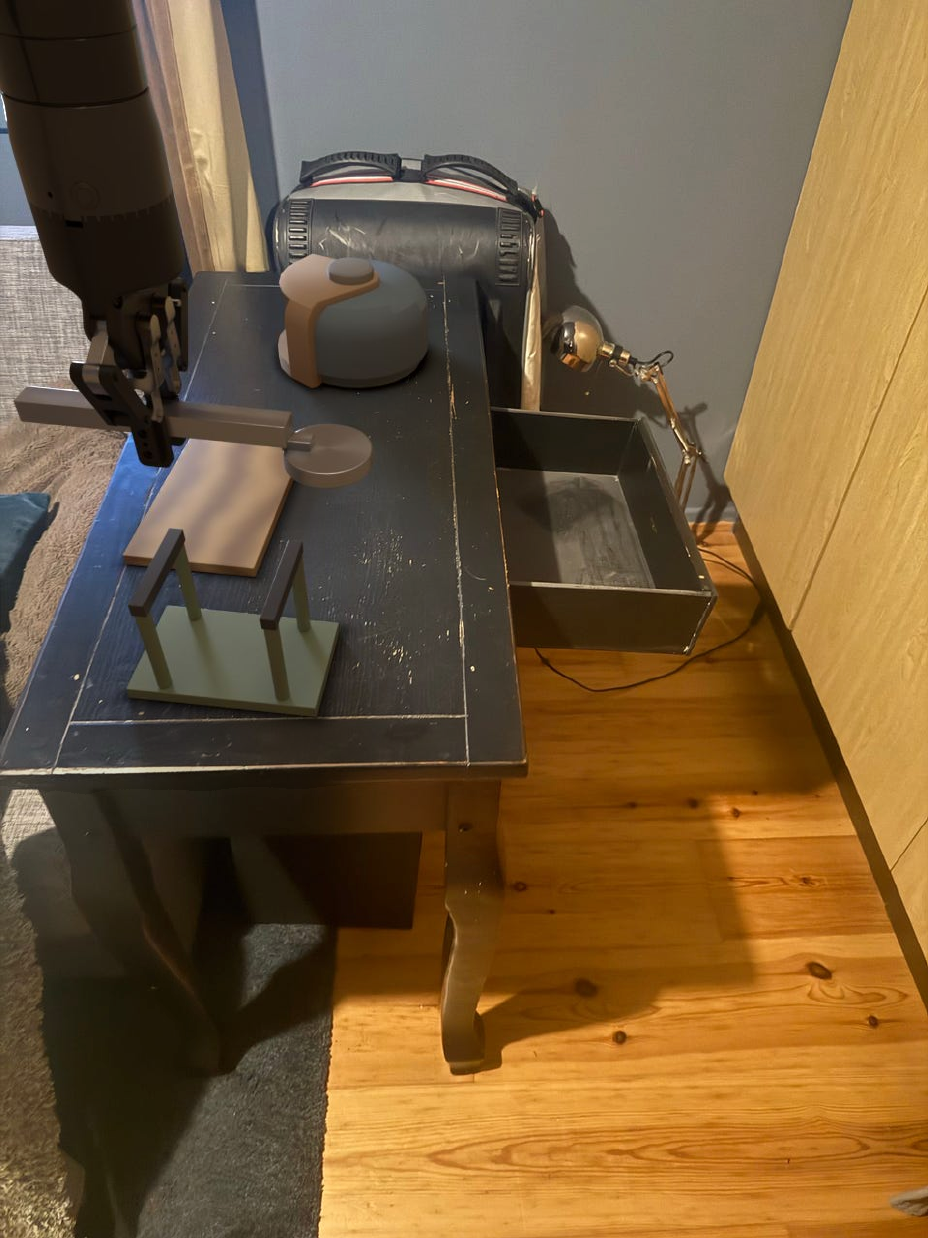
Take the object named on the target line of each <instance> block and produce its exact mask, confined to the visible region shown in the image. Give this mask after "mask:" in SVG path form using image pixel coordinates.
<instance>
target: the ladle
mask: <svg viewBox="0 0 928 1238" xmlns="http://www.w3.org/2000/svg"><path fill="white" fill-rule="evenodd" d="M139 397H140V398H141V400H142V401H144V402H146V399H145V397H143V396H139ZM161 401H162V407H163V416H165V420H166V424H167V428H168V433H169V436H171V437H181V438H187V439H200V440H210V441H220V442H230V443H240V444H250V445H260V446H270V447H280V448H282V453H283V460H284V467H285V470H286V472H287V473H288V475H289V476H290V477H291V478H293V479H294V481H295V482H296V483H299V484H300V485H303V486H306V487H310V488H314V489H323V490H324V489H329V490H330V489H338V488H345V487H348V486H351V485H354V484H356V483H358V482H360V481H361V480H362V479H364V478H365V477H366V476H367V475H368V474H369V473H370V471H371V470H372V468H373V444H372V442H371V440H370V438H368V436H367V435H366V434H365V433H363V432H362V431H360V430H358V429H357V428H354V427H351V426H348V425H343V424H337V423H319V424H313V425H308V426H306V427H303V428H300V429H298V430H296V431H294V423H293V414H292V412H291V411H287V410H286V411H285V410H275V409H266V408H254V407H244V406H237V405H236V406H235V405H227V404H226V405H224V404H215V403H206V402H194V401H185V400H179V401H176V400H166V399H161ZM13 404H14V406H15V409H16V412H17V415H18V418H19V420H20V422H22V423H32V424H41V425H42V424H43V425H51V426H61V427H72V428H82V429H90V430H91V429H93V430H102V431H111V432H123V433H131V434H132V432H131V428H130V427H126V426H109V425H107V424H106V422H105V421H104V420H103V419H102V418H101V416H100V415H99V414H98V413H97V412H96V410H95V409H94V408H93V407H92V405H91V404H90V403H89V402H88V401H87V399H86V398H85V397H84V396H83V394H82V393H81V392H80V391H79V390H73V389H64V388H55V387H54V388H53V387H44V386H35V385H26V386H25V387H24V388H23V389H22V391H20V393H19V394H18V395H17V396H16V397H15V398H14V400H13Z"/></svg>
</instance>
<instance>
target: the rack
mask: <svg viewBox="0 0 928 1238" xmlns="http://www.w3.org/2000/svg"><path fill="white" fill-rule="evenodd" d="M184 542H185V536H184V532H183V529H173V528H169V529H168V531H167V533H166V535H165V537H164V539H163V540H162V542H161V544H160V546H159V548H158V550H157V552H156V554H155V555H154V557H153V559H152V561H151V563H150V565H149V566H147V568H146V571H145V572H144V574H143V576H142V578H141V580H140V582H139V583H138V585H137V587H136V589H135V591H134V593H133V594H132V596H131V598H130V600H129V602H128V604H127V608H128V611H129V614H130V616H131V617H133V618H134V619H135V622H136V625H137V627H138V631H139V634H140V636H141V640H142V643H143V646H144V649H145V650H144V651H143V654H142V656H141V658H140V660H139V662H138V663H137V665H136V668H135V670H134V672H133V673H132V676H131V678H130V680H129V682H128V684H127V686H126V689H125V691H126V693H127V694H128V697H129V698H131V699H140V700H149V701H158V702H166V703H167V702H169V703H178V704H186V705H187V704H189V705H198V706H205V707H206V706H207V707H218V708H225V709H227V708H228V709H234V710H235V709H236V710H245V711H253V712H254V711H256V712H263V713H275V714H283V715H284V714H285V715H293V716H302V717H303V716H304V717H313V718H317V717H318V714H319V709H320V706H321V703H322V698H323V695H324V692H325V688H326V684H327V680H328V676H329V673H330V669H331V665H332V662H333V659H334V654H335V650H336V647H337V643H338V639H339V636H340V623H339V622H334V621H326V620H315V619H311V615H310V608H309V607H310V606H309V600H308V599H309V598H308V591H307V589H308V588H307V583H306V581H307V580H306V573H305V565H304V557H303V555H304V544H303V543H304V542H303V541H302V540H295V539H294V540H293V539H288V540H287V542H286V545H285V548H284V551H283V553H282V557H281V558H280V562H279V564H278V567H277V569H276V572H275V575H274V578H273V580H272V583H271V585H270V589H269V591H268V594H267V597H266V598H265V602H264V604H263V608H262V610H261V613H260V614H256V613H247V612H246V613H245V612H235V611H226V610H216V609H206V608H202V607H201V605H200V601H199V596H198V594H197V593H198V592H197V589H196V585H195V581H194V577H193V571H191V569H190V565H189V561H188V557H187V553H186V549H185V545H184ZM173 564H174V565H175V569H174V570H175V572H176V576H177V580H178V583H179V584H178V585H179V588H180V591H181V594H182V595H181V596H182V598H183V602H184V605H185V606H177V605H166V607H165V608H164V611H163V613H162V614H161V617H160V618H159V621H158V623H157V625H156V624H155V621H154V619H153V615H152V612H151V609H152V608H153V605H154V604H155V601H156V599H157V597H158V595H160V591H161V590H162V588H163V586H164V583H165V582H166V579H167V578H168V576H169V575H170V572H171V570H172V569H171V568H172V566H173ZM291 590H292V597H293V605H294V606H293V607H294V612H295V617H285V616H283V613H284V610H285V607H286V604H287V601H288V598H289V596H290V592H291Z"/></svg>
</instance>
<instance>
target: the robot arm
mask: <svg viewBox="0 0 928 1238" xmlns="http://www.w3.org/2000/svg"><path fill="white" fill-rule="evenodd" d="M134 7H135V6H134V3H133V0H0V97H1V102H2V105H3V110H4V116H5V123H6V128H7V133H8V139H9V143H10V146H11V150H12V154H13V157H14V161H15V164H16V167H17V170H18V174H19V177H20V181H21V184H22V187H23V190H24V194H25V197H26V200H27V204H28V206H29V207H28V208H29V210H30V213H31V216H32V219H33V224H34V226H35V230H36V233H37V237H38V239H39V243H40V246H41V250H42V253H43V256H44V259H45V263H46V266H47V269H48V272H49V274H50V275H51V277H52V278H53V279H54V281H55V282H57V283H58V284H60V285H61V286H63V287H65V288H66V289H67V290H69V291H71V293H73V294H74V295H75V296H76V297H77V298H78V299H79V300H80V302H81V310H82V327H83V331H84V335H85V336H86V338H87V340H88V341H89V342H90V343H89V348H88V351H87V356H86V360H85V362H84V361H72V362H71V363H70V365H69V368H68V375H69V379H70V382H72V384H73V385H74V386H75V387H76V389H77V391H80V392H81V393H82V394H83V396H84V397H85V398H86V399H87V401H88V402H89V403H90V404H91V405H92V407H93V408H94V409H95V410H96V412H97V413H98V414H99V415H100V416H101V418H102V419H103V420H104V421H105V422H106V424H107V425H109V426H126V427H130V428H131V432H132V433H131V432H130V433H131V436H132V439H133V443H134V447H135V450H136V454H137V457H138V461H139V462H140V463H141V464H142V465H143V466H145V467H152V468H161V469H168V468H170V467H171V466H172V464H173V462H174V461H175V453H174V449H173V446H174V447H182V446H183V445H184V444H185V443H186V441H187V439H188V438H181V437H171V436H169V433H168V428H167V424H166V420H165V416H163V407H162V401H161V399H166V400H176V401H180V398H179V395H180V394H181V391H182V386H183V383H182V378H181V375H180V373H187V371H188V368H189V285H188V281H187V279H186V278H184V277H179V276H180V275H181V274H182V273H183V270H184V269H185V267H186V253H185V247H184V242H183V238H182V232H181V231H182V230H181V227H180V221H179V215H178V209H177V204H176V200H175V199H176V198H175V193H174V188H173V183H172V178H171V172H170V167H169V162H168V155H167V151H166V145H165V140H164V135H163V131H162V127H161V125H160V121H159V118H158V115H157V112H156V109H155V105H154V102H153V99H152V95H151V90H150V87H149V80H148V74H147V69H146V63H145V59H144V54H143V48H142V42H141V38H140V33H139V28H138V23H137V16H136V11H135V8H134ZM137 390H140V391H141V392H142V393H143V395H142V397H145V399H146V402H144V401H142V400H141V398H140V397H141V396H140V395H139V394H138V392H137Z"/></svg>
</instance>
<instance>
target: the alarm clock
mask: <svg viewBox="0 0 928 1238" xmlns="http://www.w3.org/2000/svg"><path fill="white" fill-rule="evenodd" d="M278 284H279V286H280V290H281V292H282V293H283V295H284V303H285V312H284V330H283V331H282V332H281V333H280V335H279V339H278V342H277V343H278V344H277V347H278V348H277V350H278V357H279V361H280V366H281V369H282V370H283V371H284V372H285V373H286V375H288V376H289V377H290V378H291V379H293V380H295V381H297V382H299V383H301V384H302V385H305V386H306V387H308V388H311V389H314V388H317V387H319V386H320V385H321V384H325V385H330V386H337V387H343V388H358V389H359V388H361V389H363V388H371V387H373V388H374V387H380V386H384V385H387V384H391V383H395V382H398V381H400V380H402V379H404V378H406V377H408V376H409V375H410V374H411V373H413V372H414V371H415V370H416V369H417V367H418V366H419V363H420V362H421V361H422V360H423V359H424V358H425V355H426V354H427V352H428V350H429V318H430V317H429V316H430V315H429V314H430V313H429V312H430V311H429V301H428V296H427V293H426V292H425V290H424V289H423V287H422V286H421V284H420V283H419V281H418V279H417V278H416V277H414V276H413V275H412V274H411V273H410V272H408V271H407V270H404V269H402V268H401V267H398V266H397V265H395V264H392V263H389V262H385V261H382V260H378V259H370V258H359V257H340V258H332V257H328V256H324V255H320V254H316V253H311V254H309V255H307V256H305V257H303V258H301V259H299V260H297V261H295V262H294V263H292V264H290V265H288V266H287V268H285V270H284V271H283V272H282V273H281V274H280V278H279V281H278Z"/></svg>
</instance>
